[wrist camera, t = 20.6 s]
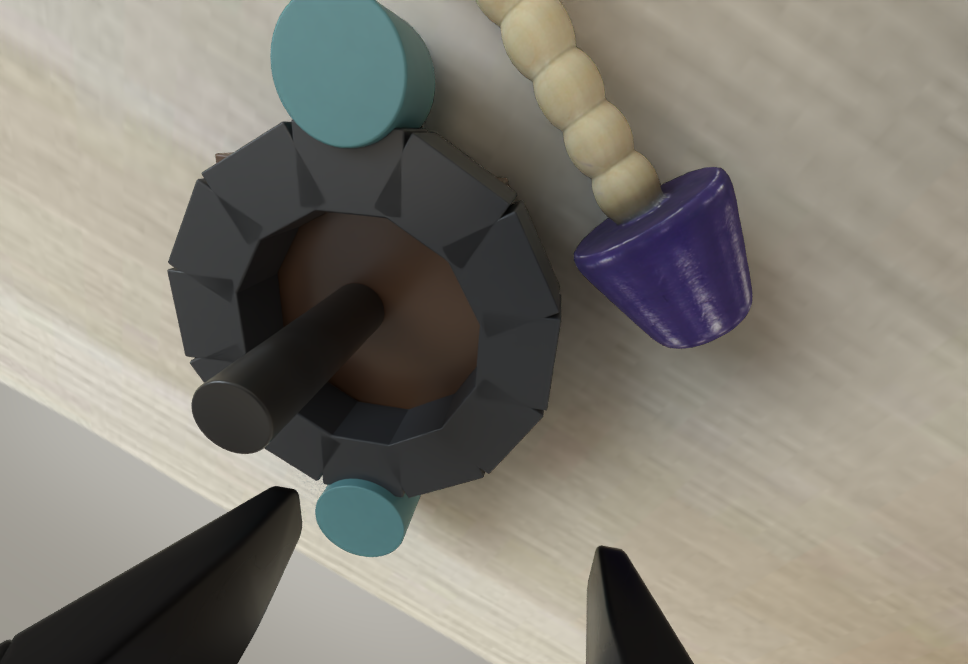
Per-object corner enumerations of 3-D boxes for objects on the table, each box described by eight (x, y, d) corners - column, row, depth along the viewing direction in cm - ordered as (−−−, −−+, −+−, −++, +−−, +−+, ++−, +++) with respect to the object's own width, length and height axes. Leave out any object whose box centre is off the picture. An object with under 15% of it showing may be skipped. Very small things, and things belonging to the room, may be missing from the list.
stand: (508, 177, 16) (455, 222, 8) (485, 422, 20) (436, 608, 12) (236, 151, 17) (-42, 168, 9) (268, 388, 21) (95, 538, 13)
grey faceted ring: (602, 23, 12) (612, -5, 10) (525, 530, 20) (519, 587, 18) (174, -1, 14) (88, -30, 11) (254, 481, 22) (213, 527, 19)
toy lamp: (335, -119, 13) (635, 325, 17) (218, -215, 9) (645, 394, 13) (458, -293, 11) (768, 255, 15) (377, -516, 7) (829, 312, 11)
